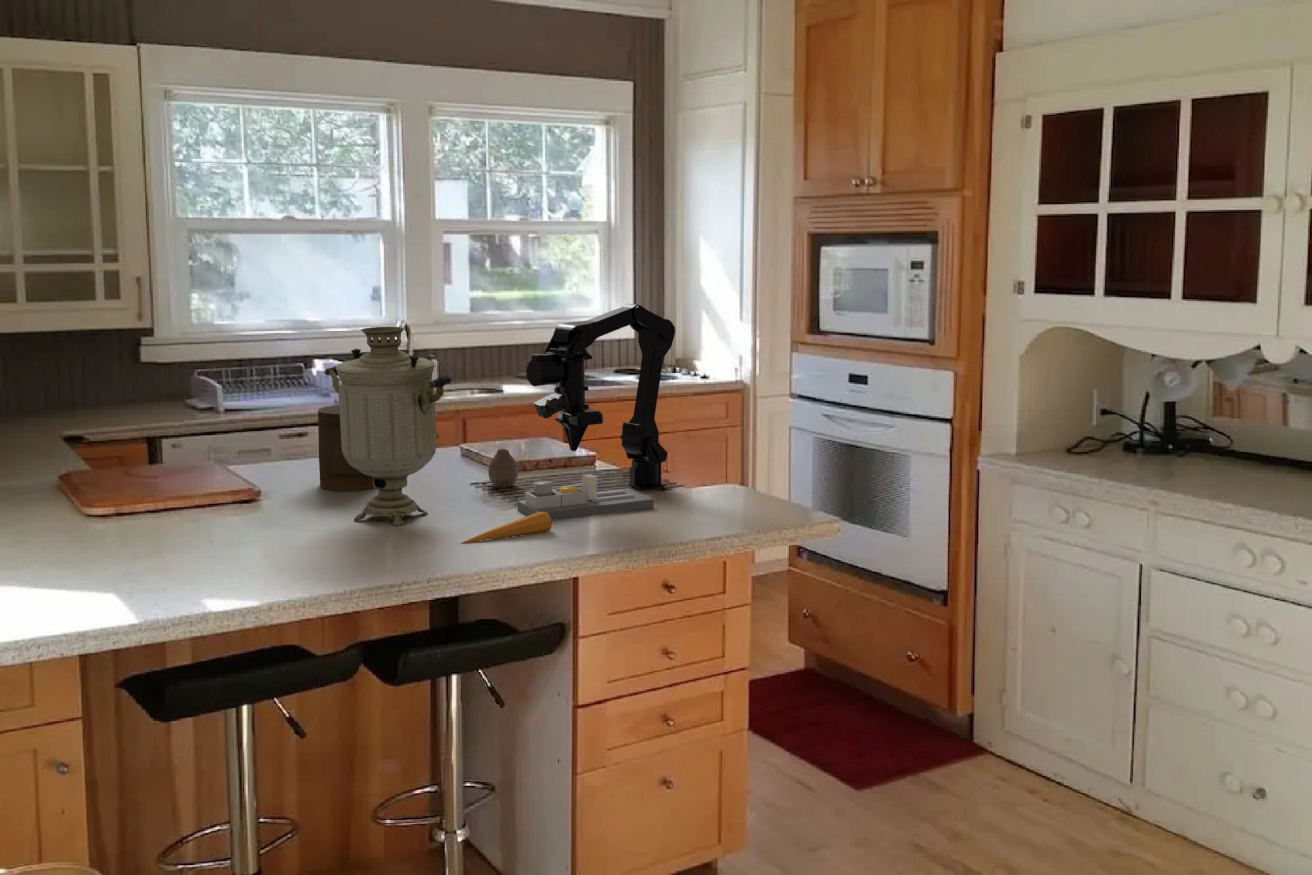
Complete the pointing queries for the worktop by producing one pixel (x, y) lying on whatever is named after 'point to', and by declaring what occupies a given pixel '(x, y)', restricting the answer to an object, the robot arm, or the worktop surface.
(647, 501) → the panel
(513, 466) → the vase
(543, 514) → the carrot
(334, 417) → the wooden container
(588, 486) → the slider paddle
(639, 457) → the robot arm
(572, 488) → the amber button
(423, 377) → the samovar
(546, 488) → the grey button
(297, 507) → the worktop surface
